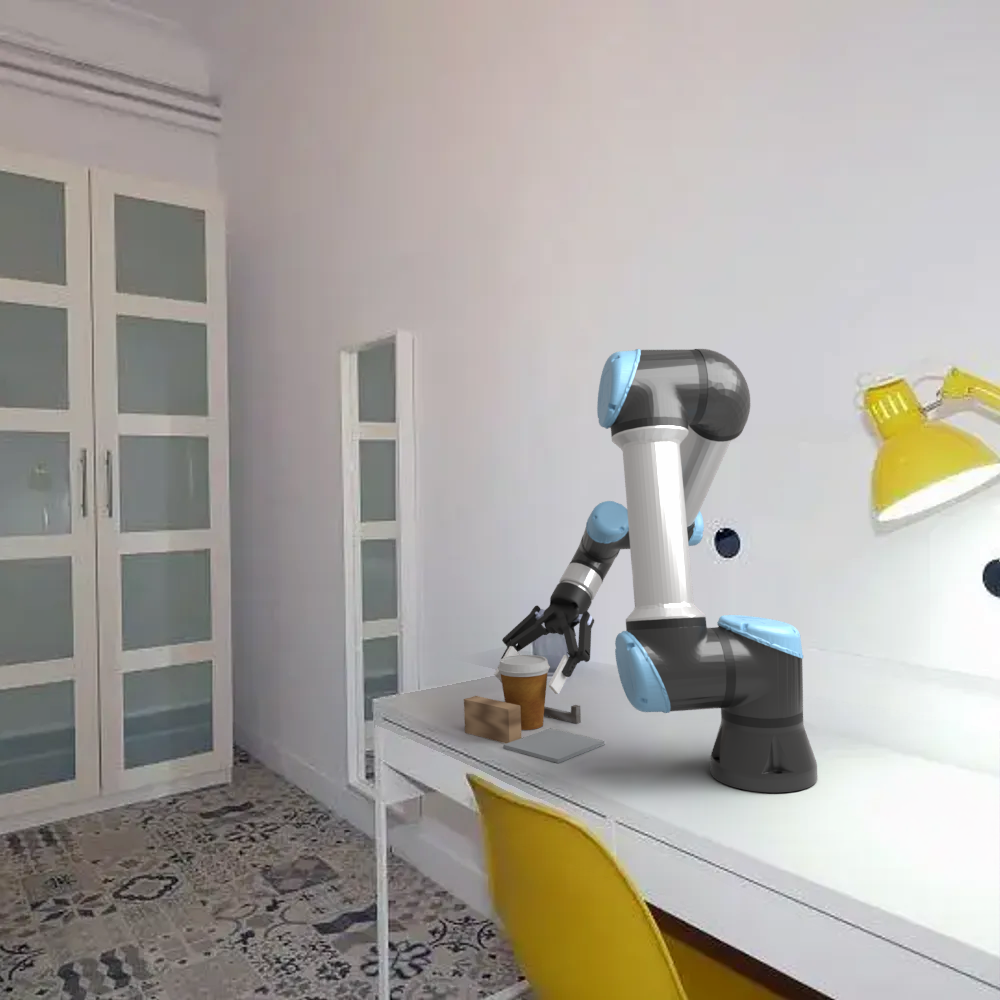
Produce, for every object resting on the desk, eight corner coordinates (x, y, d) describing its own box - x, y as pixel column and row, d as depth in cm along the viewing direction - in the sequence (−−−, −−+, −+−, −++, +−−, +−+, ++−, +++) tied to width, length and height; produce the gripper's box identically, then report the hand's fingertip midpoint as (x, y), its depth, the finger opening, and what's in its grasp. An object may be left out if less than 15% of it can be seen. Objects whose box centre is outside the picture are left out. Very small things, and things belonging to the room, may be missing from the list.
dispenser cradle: (580, 722, 158) (579, 689, 158) (514, 746, 145) (513, 710, 145) (526, 710, 167) (525, 679, 167) (460, 731, 155) (459, 698, 154)
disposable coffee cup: (552, 717, 161) (550, 653, 161) (550, 733, 152) (548, 665, 151) (502, 718, 162) (500, 654, 162) (497, 733, 153) (494, 665, 152)
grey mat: (604, 744, 144) (604, 740, 144) (558, 763, 136) (557, 759, 136) (550, 731, 153) (550, 727, 153) (503, 748, 144) (503, 744, 144)
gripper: (636, 609, 161) (588, 706, 151) (537, 598, 179) (488, 685, 169) (618, 584, 157) (567, 682, 147) (519, 576, 175) (467, 663, 165)
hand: (525, 684), depth 158 cm, fingers open, 13 cm apart
